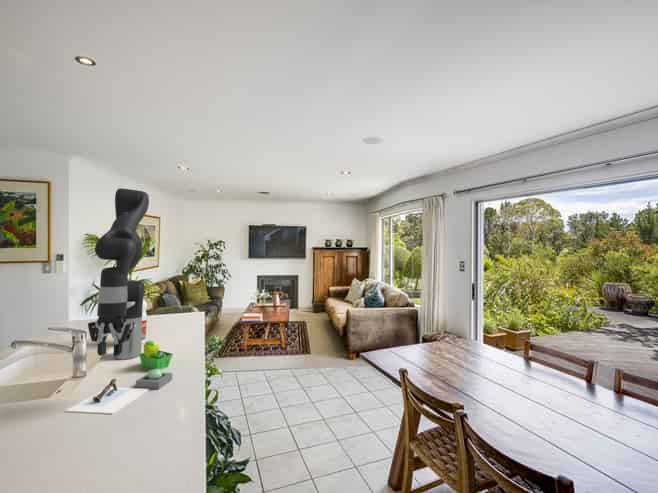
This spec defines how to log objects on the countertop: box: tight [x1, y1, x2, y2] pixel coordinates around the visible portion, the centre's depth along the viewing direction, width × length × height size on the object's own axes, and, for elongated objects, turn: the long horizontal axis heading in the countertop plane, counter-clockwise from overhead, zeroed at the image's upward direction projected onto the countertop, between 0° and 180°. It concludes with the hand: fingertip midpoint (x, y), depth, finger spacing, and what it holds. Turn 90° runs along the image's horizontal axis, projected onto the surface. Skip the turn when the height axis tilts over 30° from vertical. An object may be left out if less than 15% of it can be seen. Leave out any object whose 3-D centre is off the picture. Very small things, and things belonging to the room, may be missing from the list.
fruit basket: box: [138, 340, 174, 370], centre depth 120 cm, size 11×9×11 cm
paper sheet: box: [64, 386, 150, 415], centre depth 92 cm, size 16×14×1 cm
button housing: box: [135, 372, 173, 390], centre depth 104 cm, size 8×8×2 cm
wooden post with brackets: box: [93, 378, 118, 402], centre depth 93 cm, size 2×8×4 cm, turn 176°
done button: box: [147, 369, 163, 380], centre depth 104 cm, size 4×4×3 cm
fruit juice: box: [127, 297, 148, 344], centre depth 151 cm, size 9×9×28 cm
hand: (109, 354), depth 94 cm, fingers open, 4 cm apart
